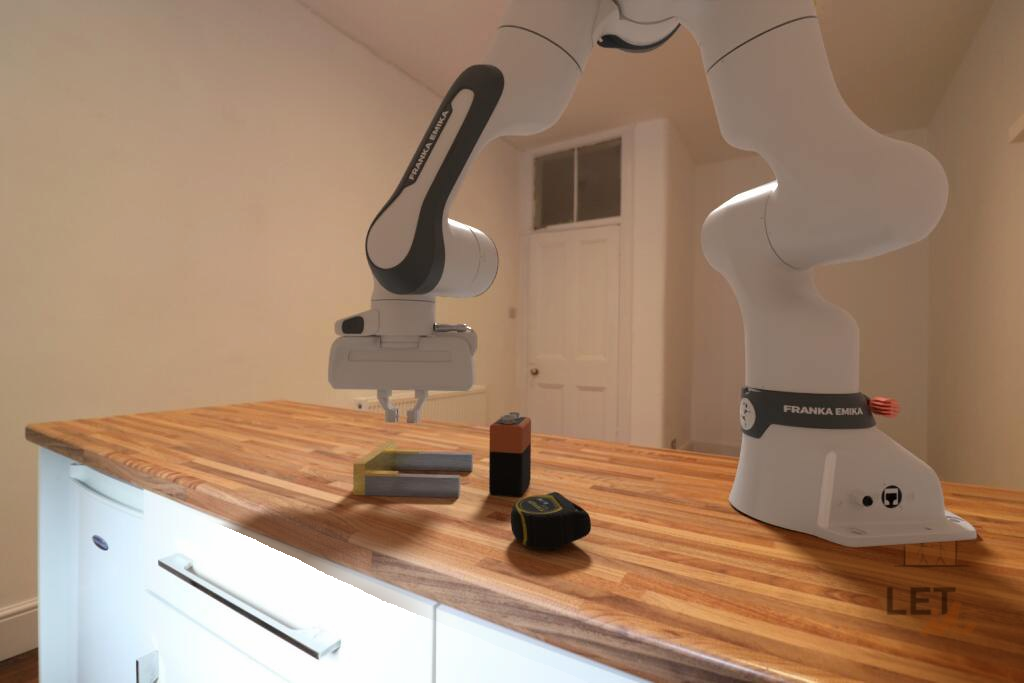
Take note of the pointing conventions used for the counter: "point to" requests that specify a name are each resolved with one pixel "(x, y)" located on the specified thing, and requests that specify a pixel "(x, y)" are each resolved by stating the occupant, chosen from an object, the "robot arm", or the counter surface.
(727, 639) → the counter surface
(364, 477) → the yellow grey u-shaped bracket
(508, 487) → the battery
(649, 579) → the counter surface
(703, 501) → the counter surface
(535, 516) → the tape measure
